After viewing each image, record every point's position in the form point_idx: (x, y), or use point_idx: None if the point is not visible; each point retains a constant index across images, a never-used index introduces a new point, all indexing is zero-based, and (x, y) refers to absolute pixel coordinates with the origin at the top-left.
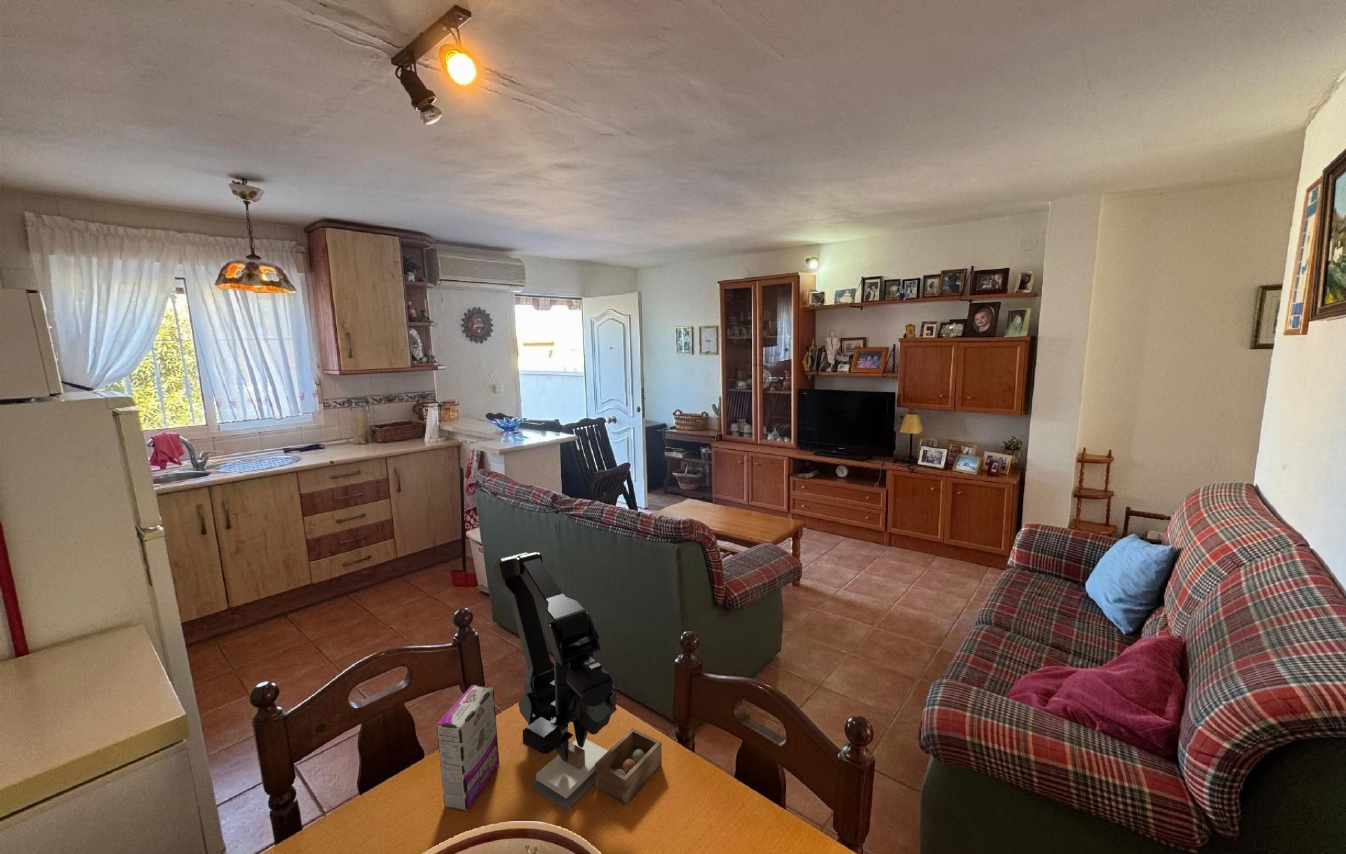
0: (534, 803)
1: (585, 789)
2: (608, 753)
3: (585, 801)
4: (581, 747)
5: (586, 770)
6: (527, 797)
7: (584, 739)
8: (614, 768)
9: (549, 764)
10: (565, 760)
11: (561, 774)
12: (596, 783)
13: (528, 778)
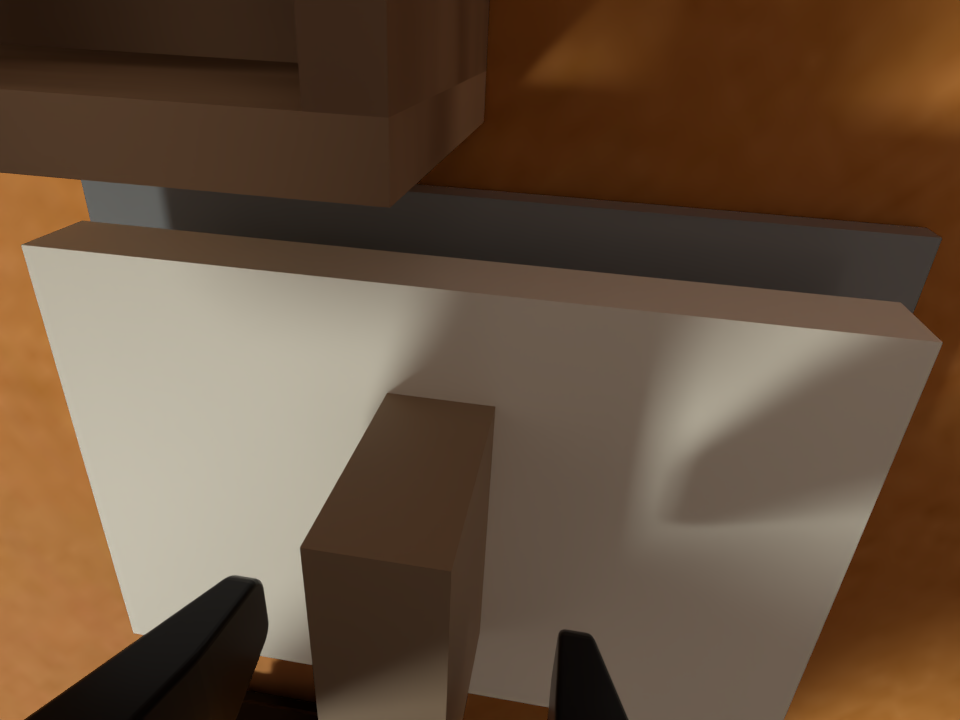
0: (923, 549)
1: (585, 206)
2: (20, 121)
3: (709, 107)
4: (258, 587)
5: (452, 323)
6: (874, 624)
7: (147, 669)
8: (150, 54)
9: None
10: (603, 664)
11: (664, 547)
12: (471, 117)
13: None
